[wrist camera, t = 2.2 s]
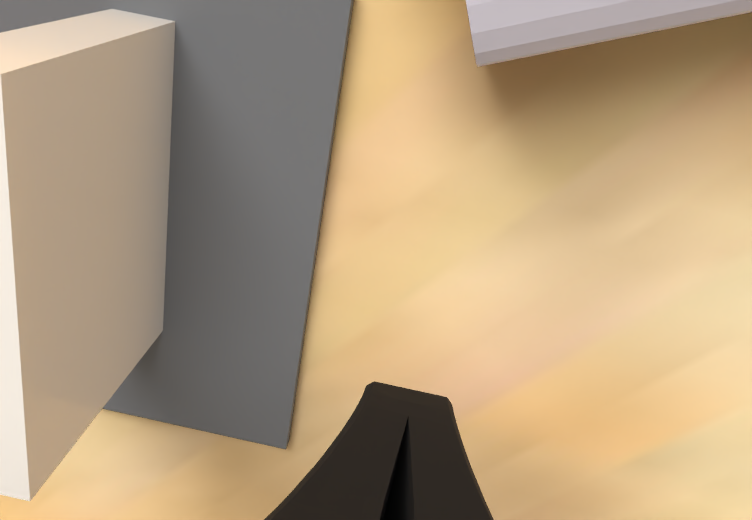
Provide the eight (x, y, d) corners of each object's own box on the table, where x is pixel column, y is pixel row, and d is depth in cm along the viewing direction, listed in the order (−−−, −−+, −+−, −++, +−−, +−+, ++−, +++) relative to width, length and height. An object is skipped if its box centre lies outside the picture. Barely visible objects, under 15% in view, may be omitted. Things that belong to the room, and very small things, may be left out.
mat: (288, 441, 23) (285, 449, 22) (-120, 350, 23) (-129, 356, 23) (355, -12, 17) (352, -11, 16) (-203, -121, 17) (-217, -123, 17)
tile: (163, 330, 21) (29, 501, 15) (106, 317, 21) (-50, 483, 15) (175, 21, 17) (0, 74, 11) (105, 7, 17) (-108, 51, 11)
